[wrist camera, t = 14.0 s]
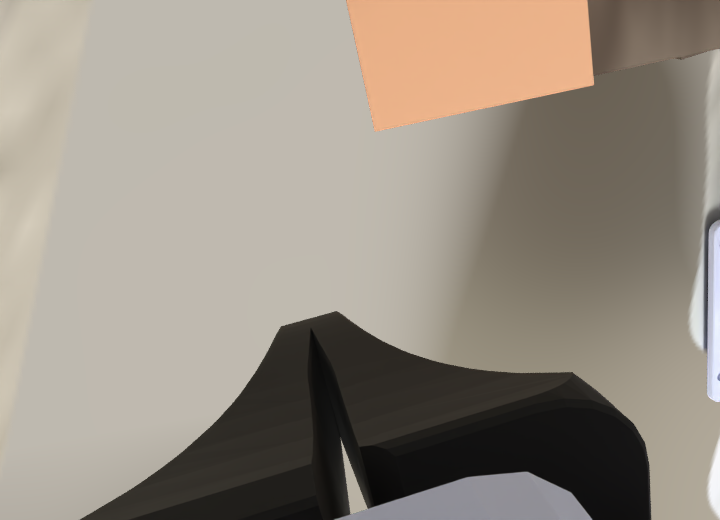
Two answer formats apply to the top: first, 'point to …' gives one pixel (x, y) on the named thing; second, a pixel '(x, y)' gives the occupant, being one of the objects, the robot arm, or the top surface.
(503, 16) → the peach block
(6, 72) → the top surface
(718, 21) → the domino block
